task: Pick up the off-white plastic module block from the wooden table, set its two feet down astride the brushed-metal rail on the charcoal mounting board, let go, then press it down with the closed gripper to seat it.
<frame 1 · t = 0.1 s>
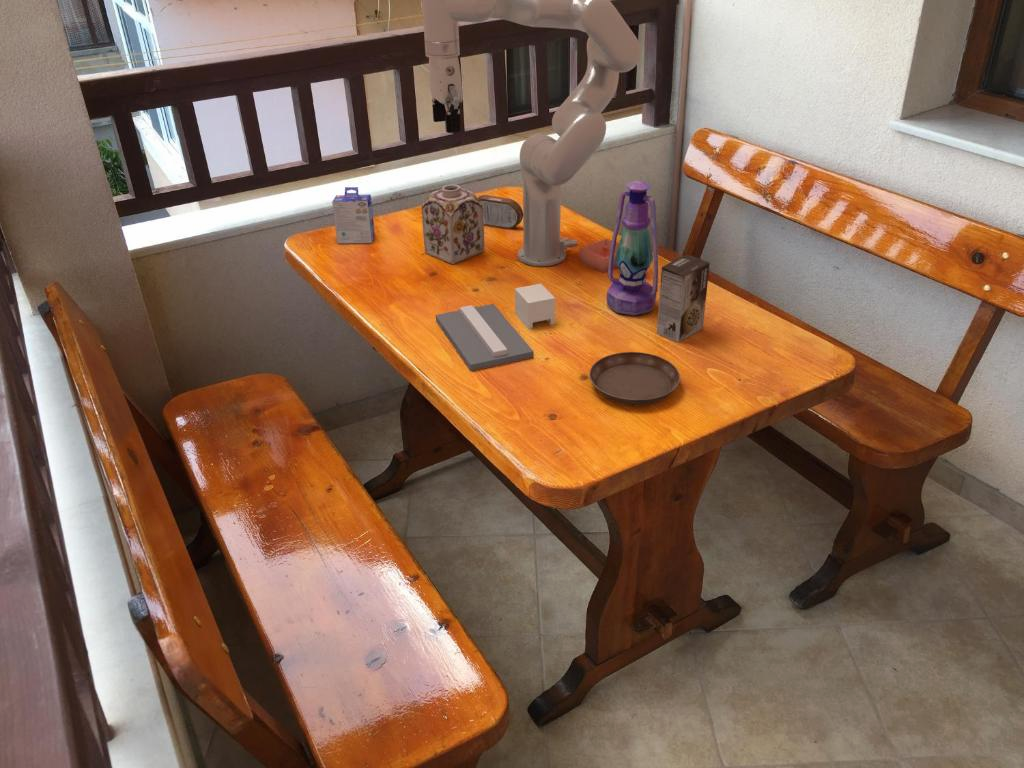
hand: (446, 126, 198), 37 cm above the table, tool pointing down, fingers open, 9 cm apart
rail board: (482, 338, 188), on the table
lantern: (630, 306, 200), on the table
pottery: (617, 269, 218), on the table
module: (534, 319, 195), on the table
plant saucer: (633, 387, 171), on the table
decorative jar: (454, 253, 228), on the table
tin: (497, 226, 244), on the table
coffee box: (679, 332, 189), on the table
ink cartridge box: (356, 240, 236), on the table
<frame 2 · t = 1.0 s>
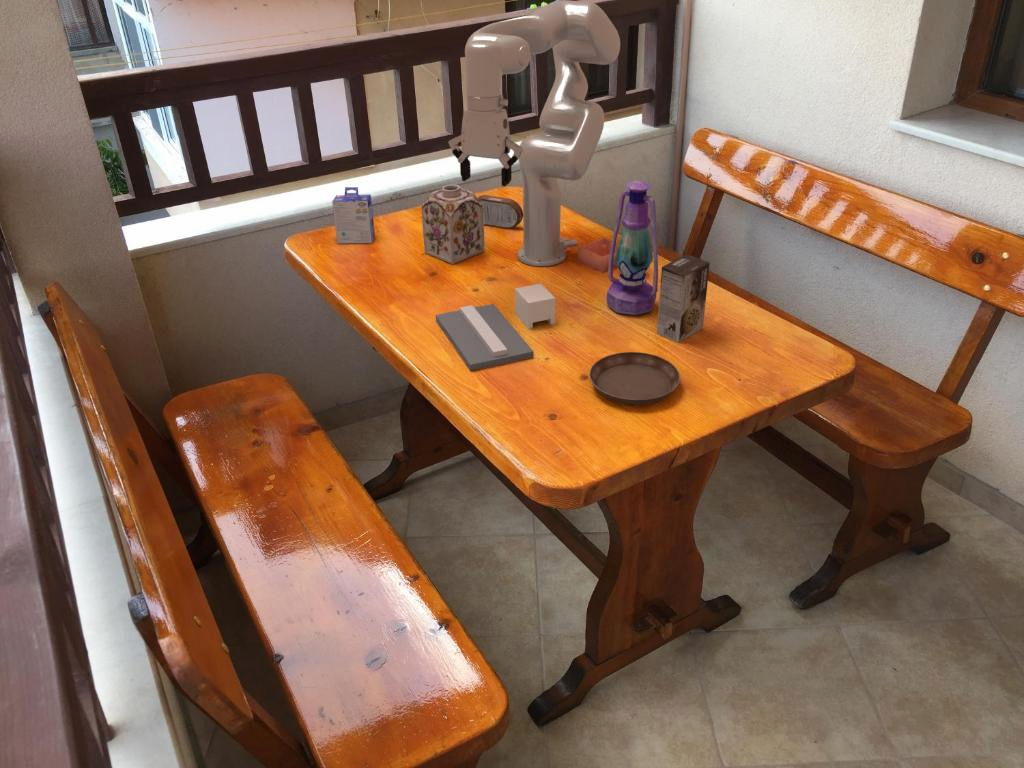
hand: (485, 181, 191), 28 cm above the table, tool pointing down, fingers open, 9 cm apart
nothing on the table moved.
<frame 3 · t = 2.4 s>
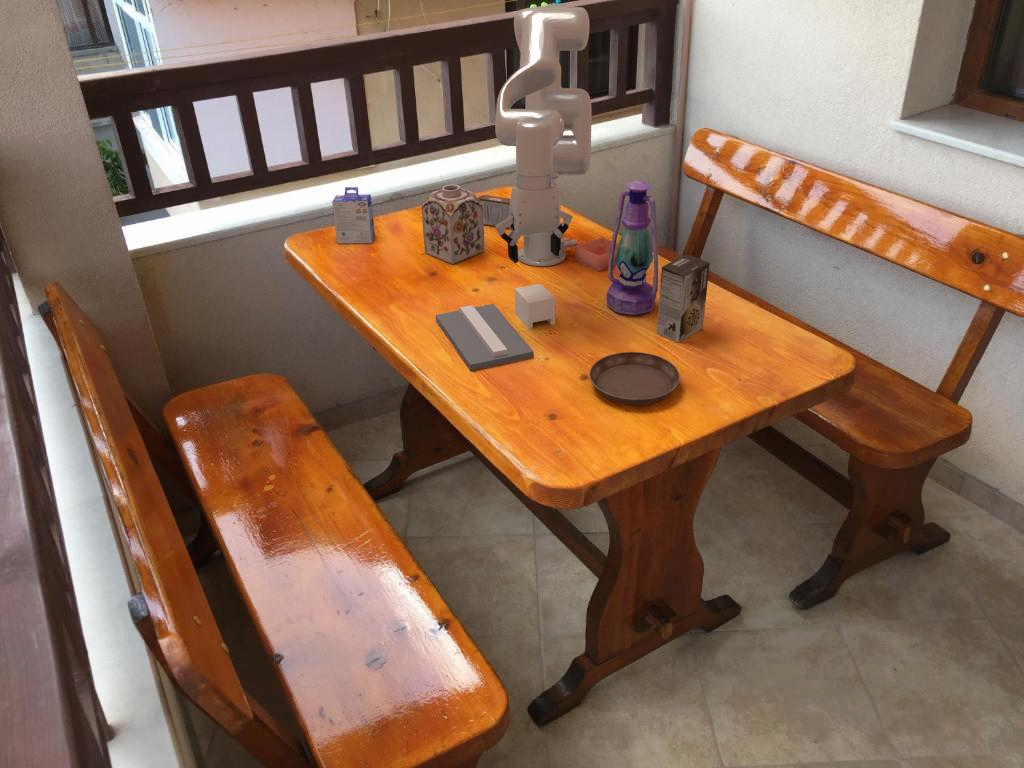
hand: (534, 257, 187), 15 cm above the table, tool pointing down, fingers open, 9 cm apart
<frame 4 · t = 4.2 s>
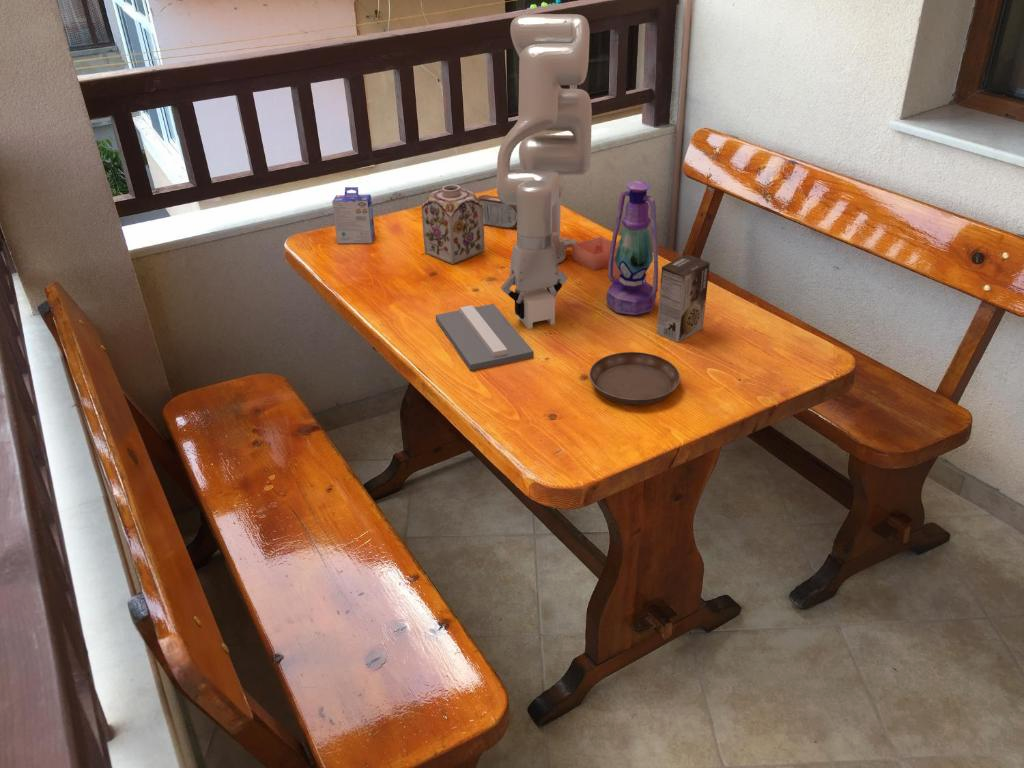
hand: (534, 312, 195), 2 cm above the table, tool pointing down, fingers closed on module, 6 cm apart
pottery: (608, 267, 219), on the table
module: (534, 318, 195), on the table, touching gripper
everything else where it was.
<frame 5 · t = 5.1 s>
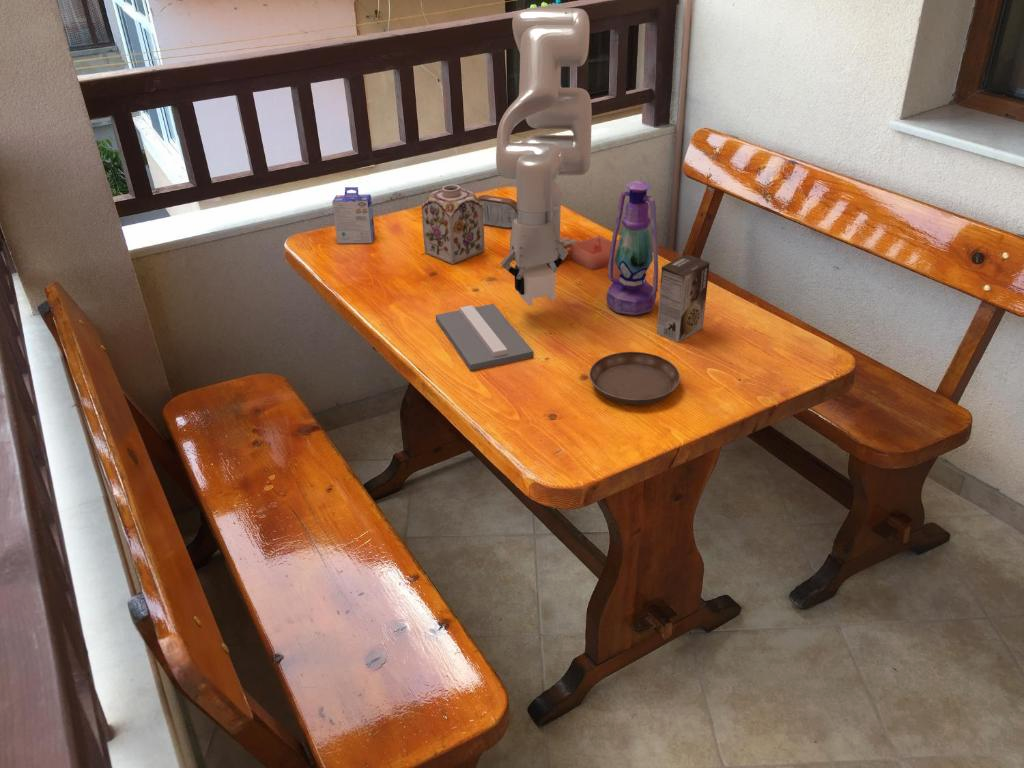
hand: (534, 288, 192), 7 cm above the table, tool pointing down, fingers closed on module, 6 cm apart
module: (534, 294, 193), point 6 cm above the table, touching gripper
everything else where it was.
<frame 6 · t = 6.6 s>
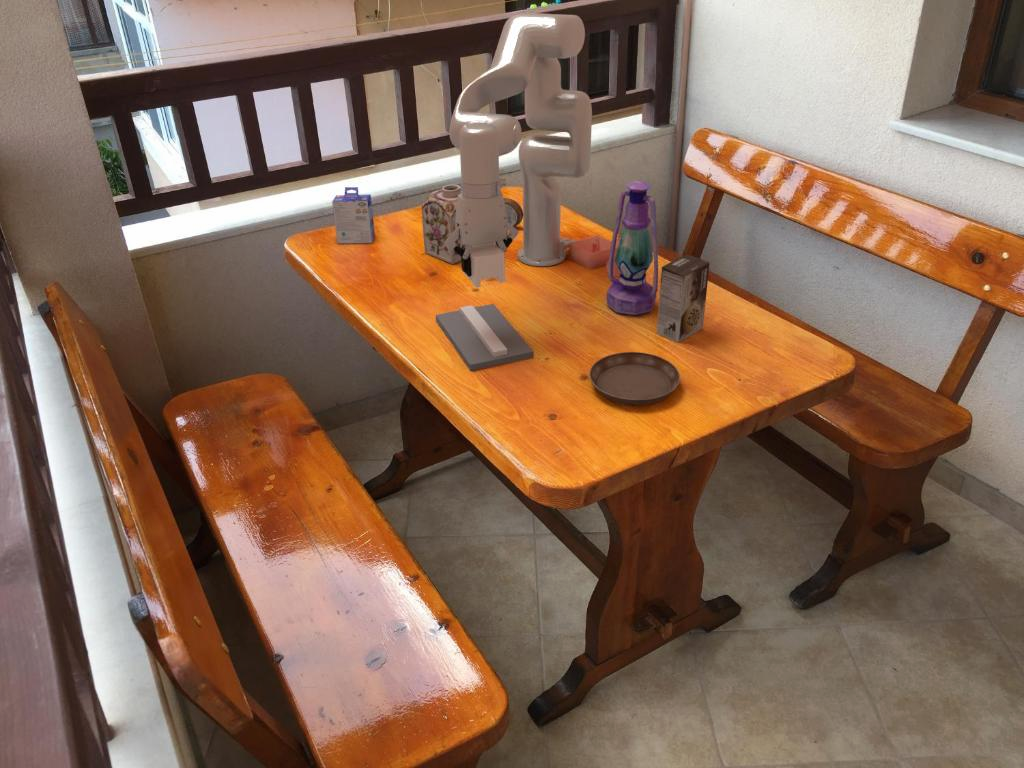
hand: (483, 270, 180), 16 cm above the table, tool pointing down, fingers closed on module, 6 cm apart
module: (483, 277, 181), point 14 cm above the table, touching gripper
when the fingers open (4 cm above the table, at t = 9.5 s): module stays where it is, resting on rail board.
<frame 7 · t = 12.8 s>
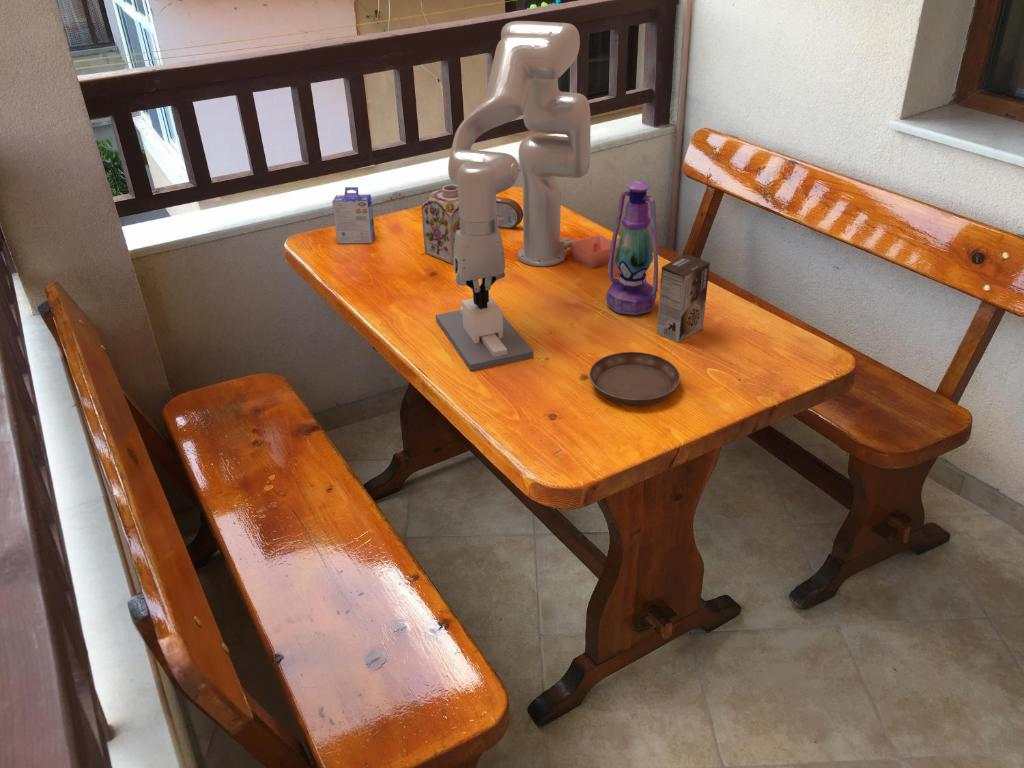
hand: (481, 305, 184), 8 cm above the table, tool pointing down, fingers closed
module: (482, 332, 187), point 1 cm above the table, touching gripper, rail board
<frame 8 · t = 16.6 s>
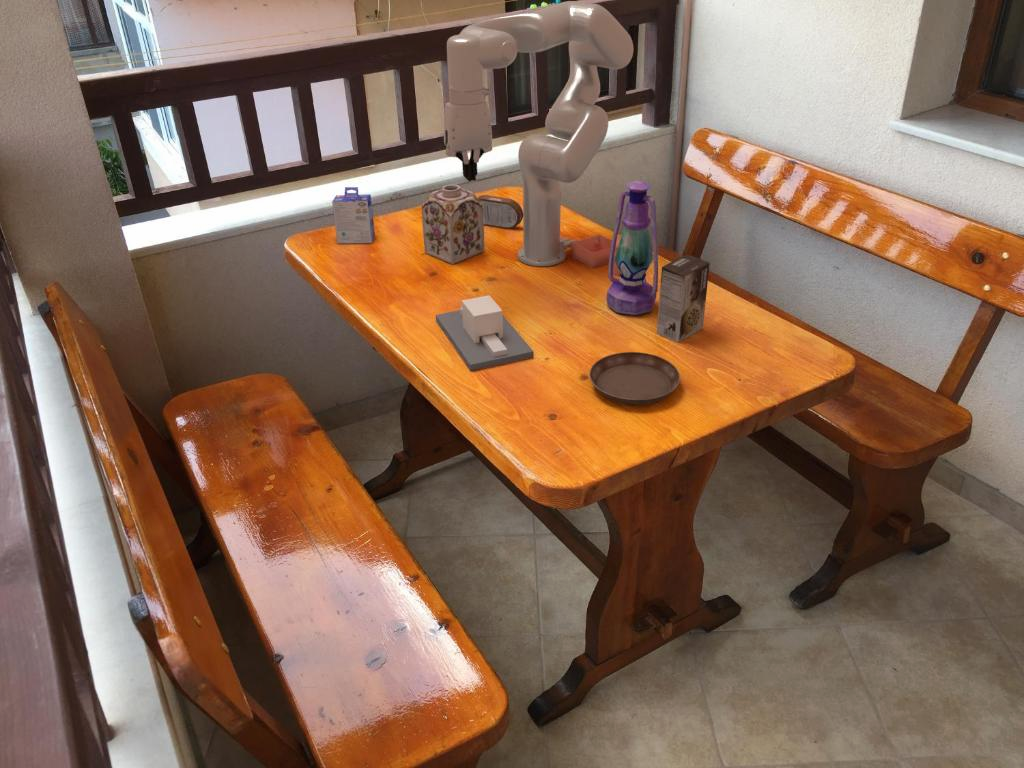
hand: (470, 179, 196), 27 cm above the table, tool pointing down, fingers closed
module: (482, 332, 187), point 1 cm above the table, touching rail board
at the end: module inside the target area on the rail board (0.1 cm from its centre), point 1.5 cm above the rail board's base; module tilted 0°; the gripper is holding nothing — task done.
